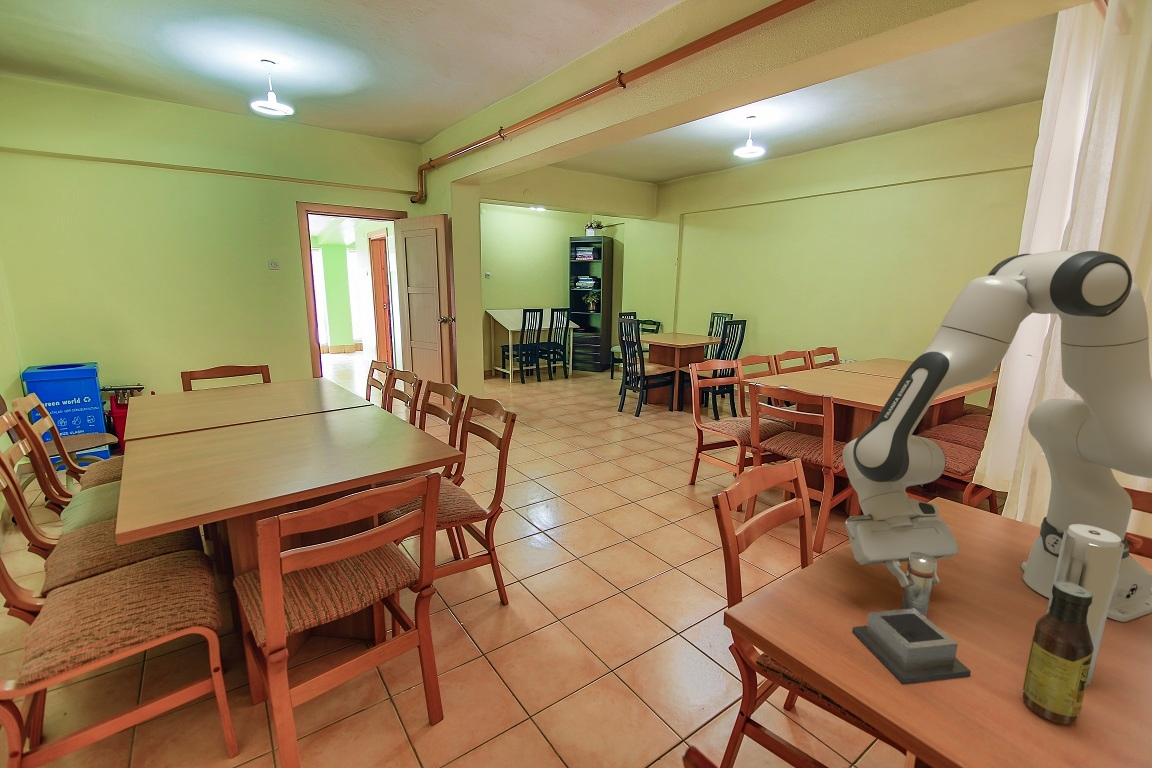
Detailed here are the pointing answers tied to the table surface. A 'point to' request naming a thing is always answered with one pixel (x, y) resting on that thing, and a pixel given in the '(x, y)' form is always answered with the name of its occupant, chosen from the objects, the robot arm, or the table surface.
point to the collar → (911, 646)
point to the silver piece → (1090, 573)
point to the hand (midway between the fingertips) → (921, 585)
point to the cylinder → (919, 582)
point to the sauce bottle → (1060, 656)
